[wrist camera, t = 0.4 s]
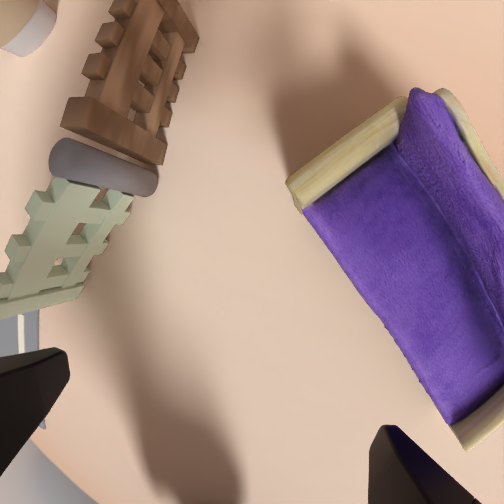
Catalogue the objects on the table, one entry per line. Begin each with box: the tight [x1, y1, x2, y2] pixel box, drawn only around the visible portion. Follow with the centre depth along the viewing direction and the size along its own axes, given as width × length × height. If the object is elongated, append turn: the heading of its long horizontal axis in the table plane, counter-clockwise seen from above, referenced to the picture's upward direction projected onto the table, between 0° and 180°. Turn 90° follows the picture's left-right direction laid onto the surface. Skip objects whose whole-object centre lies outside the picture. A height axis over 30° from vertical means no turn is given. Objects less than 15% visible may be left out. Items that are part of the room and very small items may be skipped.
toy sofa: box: [285, 88, 504, 452], centre depth 16 cm, size 21×9×10 cm, turn 37°
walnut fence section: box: [60, 0, 199, 165], centre depth 18 cm, size 11×2×10 cm, turn 168°
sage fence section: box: [0, 138, 158, 320], centre depth 19 cm, size 12×2×10 cm, turn 138°
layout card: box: [0, 309, 46, 429], centre depth 27 cm, size 16×11×1 cm
